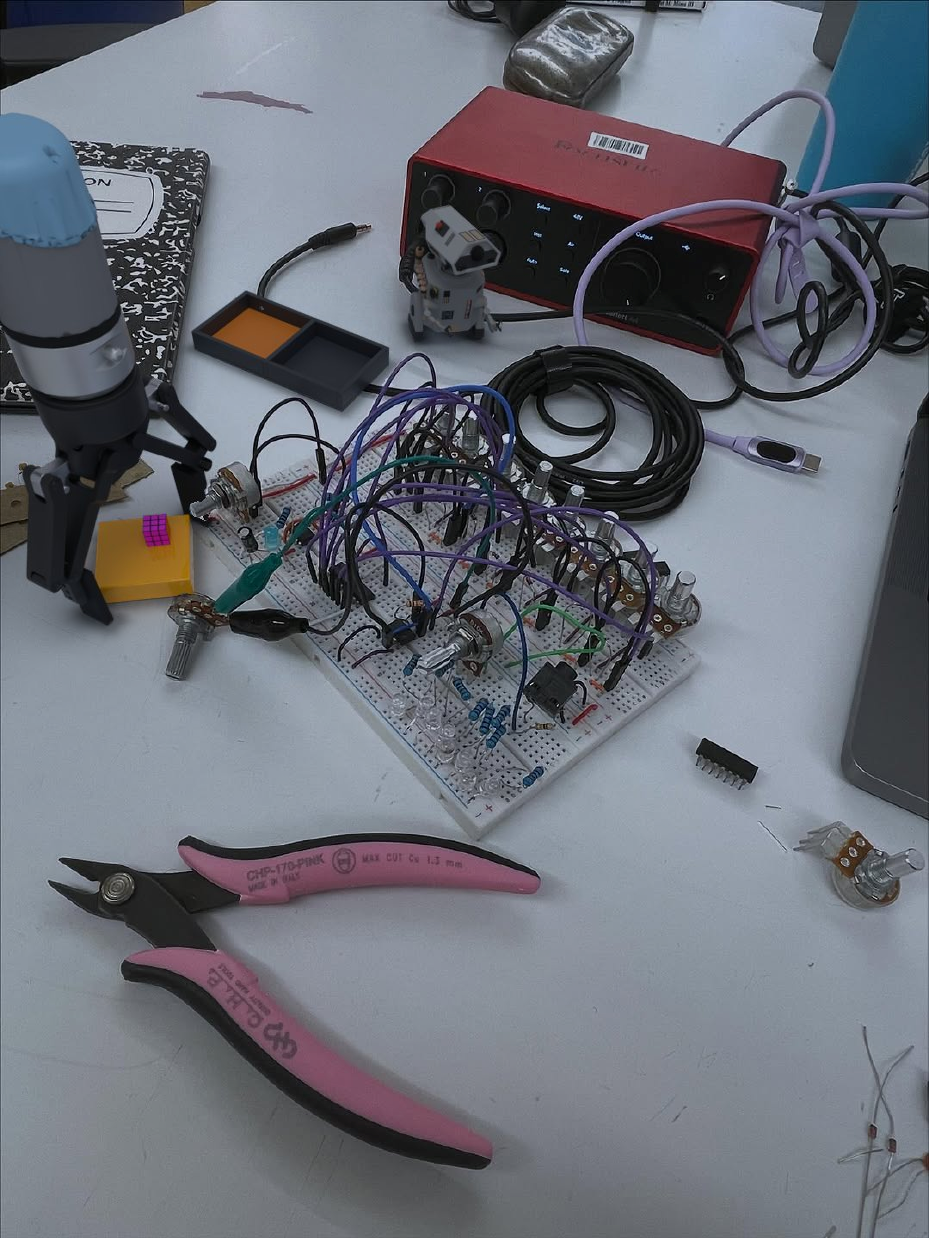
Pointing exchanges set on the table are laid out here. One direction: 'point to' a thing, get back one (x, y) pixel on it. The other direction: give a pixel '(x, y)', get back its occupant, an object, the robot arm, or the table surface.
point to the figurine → (452, 276)
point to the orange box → (145, 558)
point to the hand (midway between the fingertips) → (151, 565)
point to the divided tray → (292, 349)
